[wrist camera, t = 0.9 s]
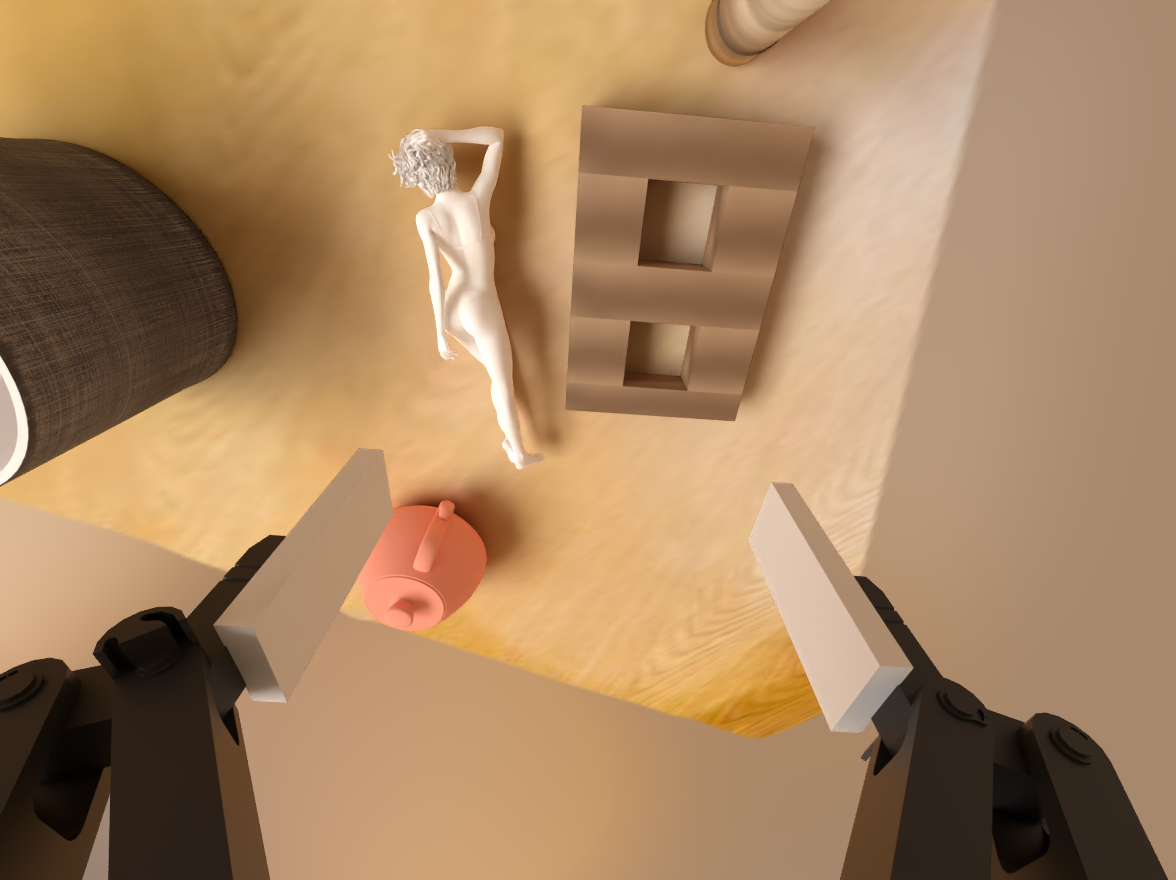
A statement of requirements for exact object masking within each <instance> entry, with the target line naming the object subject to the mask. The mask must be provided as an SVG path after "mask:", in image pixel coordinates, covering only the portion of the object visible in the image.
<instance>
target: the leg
mask: <svg viewBox="0 0 1176 880" xmlns="http://www.w3.org/2000/svg"><path fill="white" fill-rule="evenodd" d="M830 1H831V0H712V2H711V4H710V6H709V9H708V12H707V16H706V22H705V35H706V41H707V44H708V47H709V49H710V52H711V53H712V55H713V56H714V57H715V58H716V59H717V60H718V61H719V62H721V63H722V64H725V65H728V66H739V65H742V64H745V63H747V62H749V61H750V60H752V59H753V58H754V57H756V56H757V55H758V54H760V53H762V52H764V51H766V50H768V49H769V48H771V47H772V46H773V45H774V44H775V43H777V41H778V40H779V39H780V38H781V37H783V36H784V35H785V34H787V33H788V32H789V31H791V30H792V29H793V28H795V27H796V26H798V25H799V24H800V23H802V22H803V21H804V20H806V19H807V18H808V17H810V16H811V15H812V14H814V13H815V12H816V11H818V10H819V9H820V8H822V7H823V6H825V5H826V4H827V3H829V2H830Z"/></svg>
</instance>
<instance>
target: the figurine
mask: <svg viewBox="0 0 1176 880" xmlns="http://www.w3.org/2000/svg"><path fill="white" fill-rule="evenodd" d="M503 140H504V132H503V130H502V129H501V128H497V127H487V126H483V127H475V128H471V129H465V130H444V129H440V130H425V129H416V130H414V131H412V132H411V133H409V134H407V135H406V136H405V137H404V138H402V140H401V142H400V147H399V153H398V156H395V157H394V154H393V151H392V150H391V151H392V155H393V156H391V155H389V154H388V155H389V157H390V158H391V159H392V158H393V159H392V160H393V161H394V162H393V163H394V164H393V165H394V166H395V167H396V169H395V172H394V173H393V174H394V175H395V174H396V173H397V170H399V171H398V174H399V176H400V177H399V178H400V184H401V186H402V184H403V182H404V183H405V184H408V186H407V185H406V186H407V187H406V188H408V187H411V188H412V187H415V185H418V186H419V187H420V188H421V189H422V191H425V192H426V194H427V195H428V196H427V197H431V198H435V197H436V200H435V202H434V204H433V205H432V206H431V207H430V206H429V207H428V208H425V209H423V210H421V211H419V213H418V214H417V216H416V224H417V229H418V232H419V234H420V237H421V239H422V241H423V244H424V248H425V253H426V258H427V262H428V266H429V272H430V283H429V288H430V294H431V299H432V303H433V308H434V313H435V319H436V326H437V336H438V349H439V351H440V354H441V356H442V357H443V358H444V359H446V360H447V361H448V359H453V360H454V358H453V357H450V356H455V355H457V354H456V352H457V351H450V350H449V346H448V341H447V336H446V333H445V331H446V332H447V333H448V334H450V335H452V336H453V337H454V338H456V339H457V340H458V341H459V342H460V343H461V344H462V345H463V346H464V347H465V348H466V349H467V350H468V351H469V352H470V353H471V354H472V355H473V356H474V357H475V358H477V359H478V360H479V361H480V362H481V363H482V364H484V365H485V366H486V368H487V370H488V373H489V375H490V377H491V379H492V386H491V396H492V401H493V404H494V406H495V408H496V410H497V417H498V422H499V425H500V427H501V429H502V430H503V431H504V433H505V435H506V439H505V440H504V442H503V444H502V447H503V448H504V449H505V450H506V451H507V453H508V456H509V459H510V461H511V462H513V463H516V468H517V469H524V468H526V467H528V466H530V465H533V464H538V463H540V462H542V461H544V460H545V459H544V455H542V453H539V454H532V453H528V452H526V451H525V449H524V446H523V443H522V438H521V432H520V423H519V417H518V412H517V408H516V404H515V400H514V386H513V381H512V371H513V361H512V351H511V345H510V340H509V336H508V332H507V329H506V325H505V321H504V317H503V313H502V309H501V305H500V302H499V299H498V295H497V291H496V287H495V282H494V264H495V254H494V241H495V232H494V229H493V227H492V226H491V224H490V215H489V208H490V201H491V197H492V193H493V191H494V188H495V186H496V183H497V179H498V175H499V170H500V164H501V159H502V151H503ZM455 142H461V143H476V144H486V145H489V147H488V149H487V152H486V154H485V157H484V161H483V166H482V171H481V174H480V175H479V177H478V178H477V180H476V181H475V183H474V185H473V187H472V189H471V191H468V192H462V191H460V190H459V189H457V188H456V187H455V186H456V185H457V184H456V183H457V181H456V169H455V167H456V162H455V160H454V158H453V156H452V155H454V154H453V152H454V149H452V147H451V146H450V144H449V143H455ZM450 150H451V151H450ZM396 158H397V159H396ZM453 161H454V163H453ZM395 162H396V164H395ZM393 174H392V175H393ZM402 181H403V182H402ZM405 181H406V182H405ZM401 186H399V187H401ZM399 187H398V188H399ZM423 193H424V192H423ZM424 195H425V194H424ZM425 196H426V195H425ZM438 247H439V248H438ZM439 249H440V251H441V252H442V253H443V255H444V257H445V258H446V260H447V261H448V263H449V264H450V266H451V268H452V272H453V273H452V276H451V279H450V282H449V286H448V288H447V290H446V292H445V284H444V280H443V275H442V270H441V263H440V255H439ZM452 353H453V354H452Z"/></svg>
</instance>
